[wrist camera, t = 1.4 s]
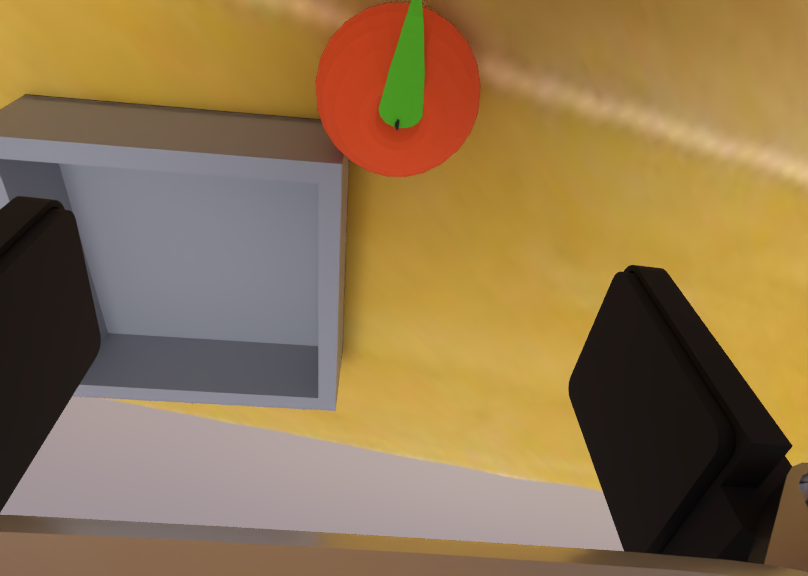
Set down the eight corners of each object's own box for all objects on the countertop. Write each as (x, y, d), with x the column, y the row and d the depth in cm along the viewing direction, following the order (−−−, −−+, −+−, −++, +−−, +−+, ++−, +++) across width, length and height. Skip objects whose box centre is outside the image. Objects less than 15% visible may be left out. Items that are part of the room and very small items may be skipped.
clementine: (333, -54, 24) (312, -30, 18) (494, -24, 24) (523, 9, 19) (319, 129, 28) (298, 195, 23) (454, 150, 29) (467, 218, 23)
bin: (350, 121, 28) (341, 163, 24) (342, 352, 37) (335, 410, 33) (25, 94, 27) (-40, 133, 23) (99, 337, 36) (62, 395, 32)
